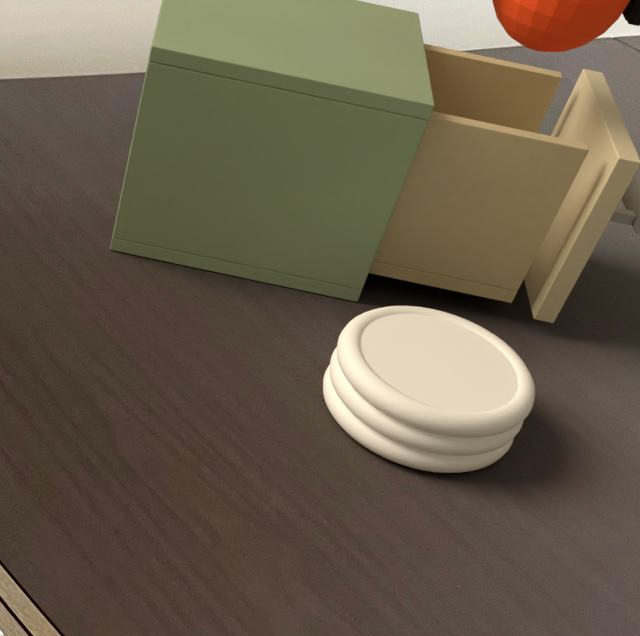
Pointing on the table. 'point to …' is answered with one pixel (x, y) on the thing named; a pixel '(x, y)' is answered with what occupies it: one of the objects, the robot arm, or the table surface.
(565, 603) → the table surface
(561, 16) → the clementine
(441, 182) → the drawer
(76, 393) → the table surface
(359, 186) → the cabinet
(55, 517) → the table surface
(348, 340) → the cream round stack
